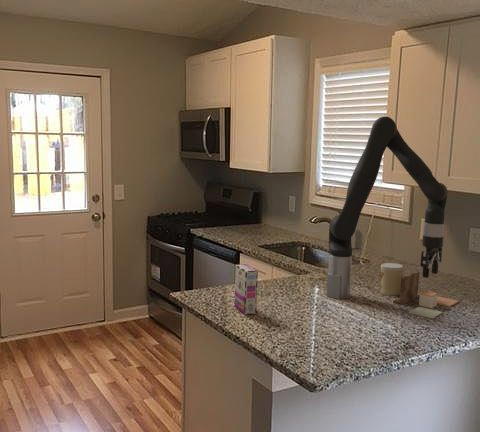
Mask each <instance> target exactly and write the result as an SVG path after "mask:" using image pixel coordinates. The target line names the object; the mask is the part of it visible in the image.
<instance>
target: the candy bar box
mask: <svg viewBox="0 0 480 432" xmlns="http://www.w3.org/2000/svg"><path fill="white" fill-rule="evenodd" d="M234 274H235V276H234V277H235V279H234V280H235V281H234V306H233V307H235V308H236V310H238V311H239V312H240V313H242V314H243V315H244V316H250V315H251V316H252V315H256V314H257V304H258V303H257V302H258V301H257V300H258V275H259V271H258V270H257V269H255V267H252V266H250V265H249V264H235V273H234Z"/></svg>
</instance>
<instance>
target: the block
mask: <svg viewBox="0 0 480 432" xmlns="http://www.w3.org/2000/svg"><path fill="white" fill-rule="evenodd" d="M437 296H438V293H437V292H434V291H428V290H424V291H422V292H420V293H419V299H418V301H419V302H418V306H419V307H424V308H428V309H434V308H435V307H436V306H437V305H438V304H437ZM437 307H438V306H437Z"/></svg>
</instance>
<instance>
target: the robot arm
mask: <svg viewBox="0 0 480 432" xmlns="http://www.w3.org/2000/svg"><path fill="white" fill-rule="evenodd" d="M386 149H389V150H390V152H392V154H394V156H395V157H396V158H397V160H398V161H399V163H400V164H401V165H402V167H403V168H404V170H405V171H406V172H407V173H408V175H409V176H410V177H411V178H412V179H413V180H414V181H415V183H416V184H417V185H418V188H419V189H420V190H421V192H422V193H423V195H424V196H425V197H426V199H427V207H426V210H425V213H424V225H423V230H422V244H421V245H422V246H423V247H424V248H425V251H424V250H422V251H421V256H420V263H419V264H420V265H419V266H420V267H421V268H422V277H423V278H425V279H428V278H429V277H430V267H431V274H433V275H437V274H438V273H439V265H440V263H442V261H443V260H442V257H443V256H442V255H443V247H444V236H445V235H444V234H445V215H446V214H445V210H446V205H447V199H448V189H447V186H446V185H445V184H444V183H441V182H439V181H438V180H437V179H436V178H435V176H434V175H433V172H432V171H431V169H430V167H429V166H428V165H427V164H426V163H425V162H424V160H423V159H422V158H421V157H420V156H419V155H418V154H417V153H416V152H415V151H414V150H413V149H412V148H411V147H410V146H409V145H408V143H407V142H406V141H405V140H404V138H403V137H402V135H401V134H400V131H399V129H398V127H397V123H396V122H395V121H394V120H393V119H392V118H391V117H389V116H386V115H385V116H381V117H378V118H377V119H376V120H375V121H374V122H373V124H372V127H371V130H370V133H369V137H368V140H367V143H366V146H365V148H364V150H363V152H362V153H361V156H360V158H359V160H358V162H357V164H356V166H355V168H354V170H353V173H352V176H351V177H350V180H349V183H348V187H347V190H346V191H347V192H346V195H345V196H346V197H345V200H344V205H343V207H342V209H341V211H340V213H339V215H335V216H333V218H332V219H331V220H330V222H329V226H328V228H329V229H328V249H329V251H328V252H329V254H328V273H327V275H326V292H325V293H326V294H325V295H326V297H329V298H332V299H336V300H341V299H348V298H350V296H351V283H352V282H351V281H352V263H353V246H352V245H353V244H352V237H353V236H354V234H355V232H356V230H357V229H356V228H357V227H358V223H359V221H360V216H361V214H362V211H363V209H364V206H365V205H366V202H367V200H368V198H369V197H370V194H371V192H372V190H373V187H374V185H375V183H376V180H377V177H378V174H379V172H380V168H381V165H382V164H381V163H382V159H383V156H384V153H385V151H386Z"/></svg>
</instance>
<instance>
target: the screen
mask: <svg viewBox="0 0 480 432" xmlns="http://www.w3.org/2000/svg"><path fill="white" fill-rule="evenodd" d="M419 280H420V271H417V270H416V271H413V272H411V273H409V274H406V275H402V277H401V287H400V294H399V298H396V299H394V300H392V303H393V304H398V305H401V306H402V305H404V304H408V303H409V302H411V301H413V300H415V299H417V298H419V297H418V296H419V295H418V294H419V284H420V283H419Z"/></svg>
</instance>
